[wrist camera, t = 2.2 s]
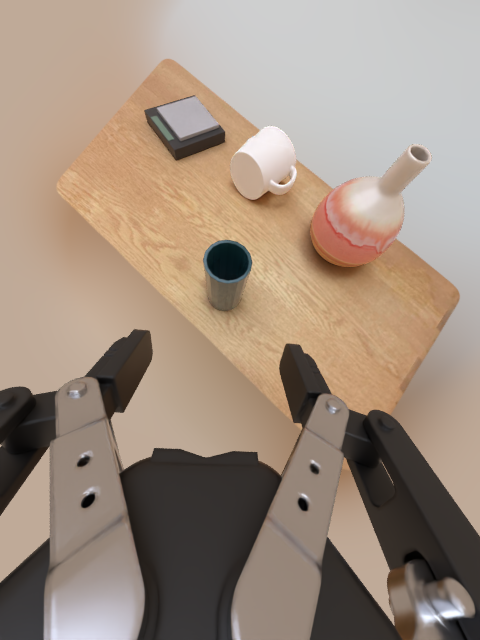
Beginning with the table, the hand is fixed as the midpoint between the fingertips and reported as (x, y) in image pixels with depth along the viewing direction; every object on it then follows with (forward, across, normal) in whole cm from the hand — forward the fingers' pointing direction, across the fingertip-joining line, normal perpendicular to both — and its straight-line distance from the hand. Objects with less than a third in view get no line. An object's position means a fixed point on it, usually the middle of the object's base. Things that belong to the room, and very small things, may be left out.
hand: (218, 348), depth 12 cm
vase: (+32, -20, -3) cm, 38 cm away
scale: (+48, +12, -20) cm, 54 cm away
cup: (+22, 0, +6) cm, 23 cm away
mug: (+40, -6, -12) cm, 42 cm away
